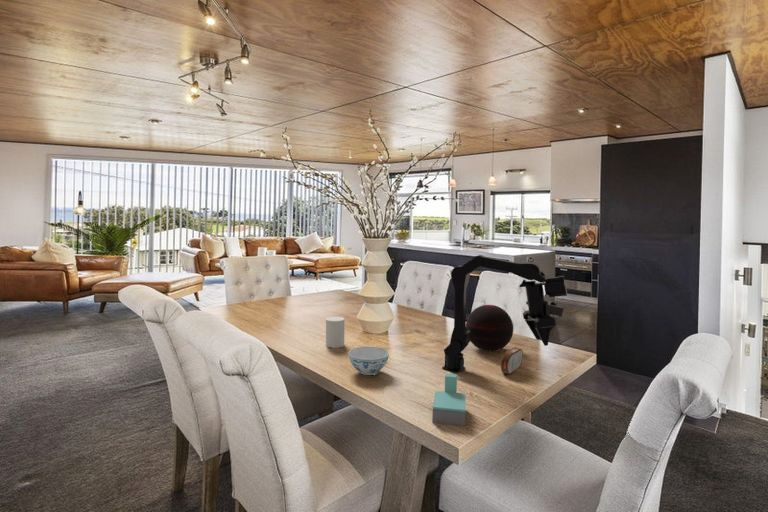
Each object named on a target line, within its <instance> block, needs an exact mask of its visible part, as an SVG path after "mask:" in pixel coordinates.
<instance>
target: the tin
mask: <svg viewBox="0 0 768 512" xmlns="http://www.w3.org/2000/svg"><path fill="white" fill-rule="evenodd" d="M523 355H524V351H523V349H522V348H520V347H517V346H514V347H512V348H510V349H508V350H506V351H505V352H504V354H503V356H502V358H501V362H500V363H501V364H500V369H501V373H503V374H506V375H511V374H512V373H514V372H516V371H517V370H519V369H520V368H521V365H522V363H523Z"/></svg>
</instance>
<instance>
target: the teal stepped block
mask: <svg viewBox="0 0 768 512" xmlns="http://www.w3.org/2000/svg"><path fill="white" fill-rule="evenodd" d="M444 375H445V376H444V391H442V390H435V391H434V398H433V402H432V403H433V404H432V410H433V409H440V410H450V411H460V412H465V413H466V408H467V407H466V396H467V395H466V392H464V393H463V392H457V384H458V374H456V373H445V374H444Z"/></svg>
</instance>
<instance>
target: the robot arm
mask: <svg viewBox="0 0 768 512" xmlns="http://www.w3.org/2000/svg"><path fill="white" fill-rule="evenodd" d="M479 268H486V269H492V270H495V271H500V272H501V271H502V272H505V273H511V274H513V275H516V276H518V277H520V278H523V280H522V282H521V283H520V284H519V288H525V294H526V302H525V303H526V305H527V307H528V310H524V311H523V313H522V317H523V320H524V321H525V323H526V324H527V326H528V328H529V329H530V331H531V332H532V335H533V336H534V337H535V339H536V341H537V340H538V341H539V340H541V342H542V343H543V346H545V347H546V346H549V340H550V334H551V331H552V330H553V329H554V328H555V327H556V326H557V321H556V319H555V318H554V317H552V316H551V315H553V316H558V317H560V318H562V317H563V314H564V308H565V307H562V306H559V305H557V303H556V302H555V301H551V300H550V301H549V302H548V301H547V300H545V295H547V296H549V298H559V297H566V296H567V297H568V290H567V285H566V281H565V276H564V275H559V276H555V277H548V276H547V275H546V274H545V273H544V272H543V271H542V268H541V265H540V264H539V263H537V262H535V261H512V260H505V259H502V258H501V259H500V258H497V257H496V258H495V257H490V256H485V255H482V254H478V255H475V256H474V257H473V258H472V259H470V260H469V261H467V262H466V263H464V264H460V265H458V266H455V267H454V268H453V269H452V270H451V271H450V278H451V283H452V287H453V290H454V303H453V304H454V307H453V309H454V313H453V314H454V317H453V319H454V321H453V329H452V332H451V335H450V339H449V340H450V342H449V344H448V345H447V346H446V347H445V348H444V349H443V352H444V366H442V368H441V369H443V370H445V371H446V370H447V371H450V372H453V373H458V372H461V371H463V370H464V369H466V367H465V364H464V363H465V357H464V353H462V352H463V351H465V349H466V348H467V347H468V345H469V344H470V343H471V339H470V333H471V331H467V329H466V322H467V318H466V316H467V313H466V312H467V288H468V285H469V282H470V276H471V273H473V272H474V271H476V270H477V269H479ZM544 293H545V294H544Z"/></svg>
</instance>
